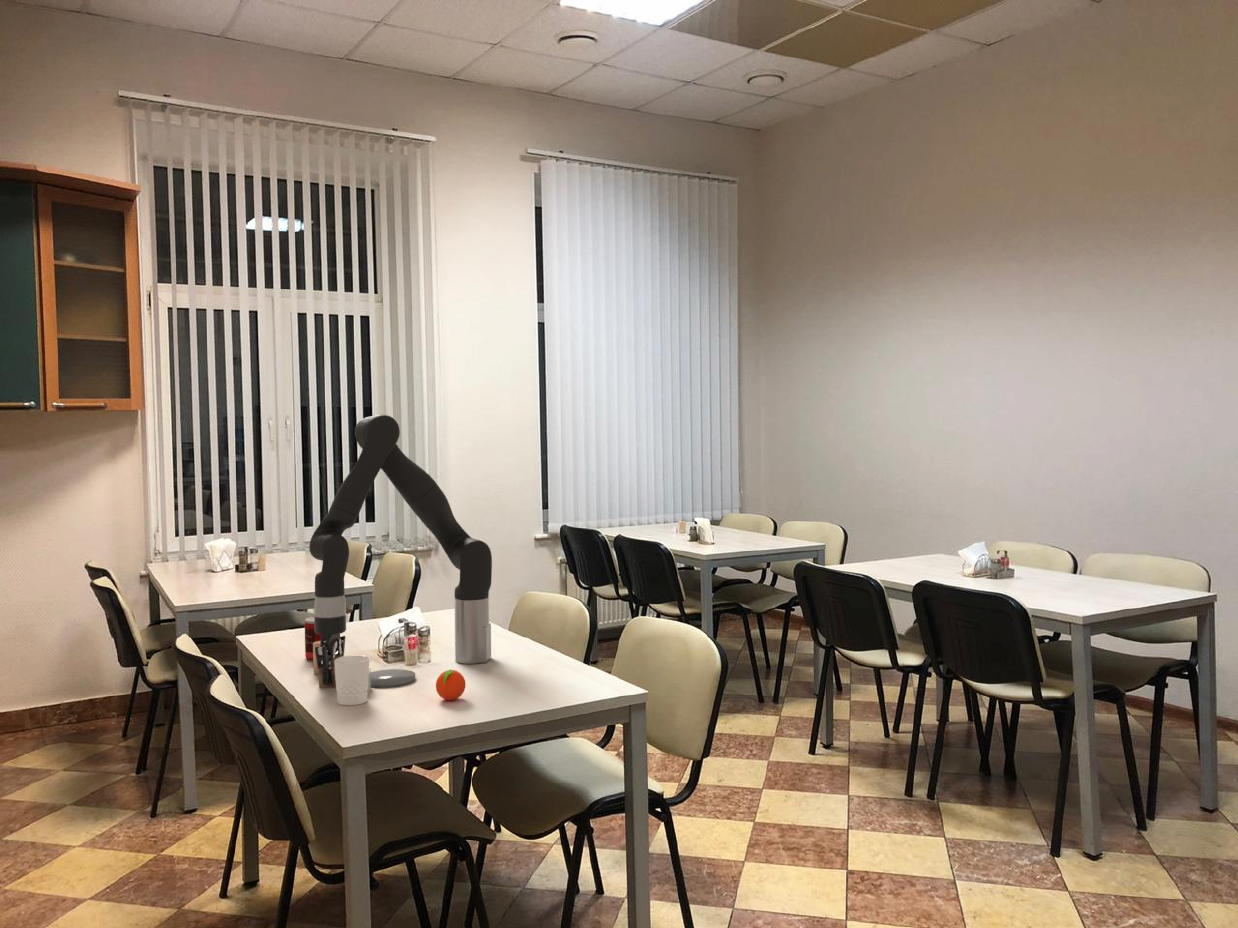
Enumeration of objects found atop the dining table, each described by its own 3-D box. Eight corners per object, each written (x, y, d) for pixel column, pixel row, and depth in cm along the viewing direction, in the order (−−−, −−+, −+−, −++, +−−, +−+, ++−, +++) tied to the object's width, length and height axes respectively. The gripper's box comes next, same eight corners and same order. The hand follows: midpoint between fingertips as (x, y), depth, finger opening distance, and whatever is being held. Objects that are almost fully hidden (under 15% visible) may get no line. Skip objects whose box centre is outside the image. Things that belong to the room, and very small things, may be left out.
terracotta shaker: (332, 671, 254) (331, 640, 254) (326, 675, 250) (325, 644, 250) (317, 670, 255) (316, 640, 254) (311, 674, 251) (310, 644, 250)
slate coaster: (421, 674, 251) (421, 669, 251) (406, 687, 238) (406, 682, 238) (372, 673, 252) (372, 668, 252) (354, 686, 239) (354, 681, 239)
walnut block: (343, 682, 243) (343, 654, 243) (336, 687, 239) (336, 659, 238) (326, 682, 243) (325, 654, 243) (319, 687, 239) (318, 658, 239)
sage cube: (370, 688, 238) (370, 667, 238) (369, 693, 233) (368, 673, 233) (349, 689, 237) (349, 668, 237) (347, 694, 232) (347, 674, 232)
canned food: (338, 654, 273) (338, 615, 272) (327, 661, 265) (326, 621, 264) (312, 653, 273) (311, 615, 273) (300, 660, 266) (299, 621, 265)
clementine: (458, 705, 222) (458, 675, 222) (429, 704, 224) (429, 673, 223) (469, 696, 230) (469, 666, 230) (442, 694, 232) (441, 665, 231)
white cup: (337, 708, 221) (336, 664, 221) (332, 699, 228) (332, 657, 228) (372, 704, 224) (371, 661, 224) (367, 695, 232) (366, 653, 231)
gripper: (333, 619, 233) (335, 689, 233) (355, 607, 247) (356, 674, 248) (303, 618, 233) (304, 689, 234) (326, 607, 248) (327, 673, 248)
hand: (331, 681), depth 241 cm, fingers closed on walnut block, 4 cm apart
